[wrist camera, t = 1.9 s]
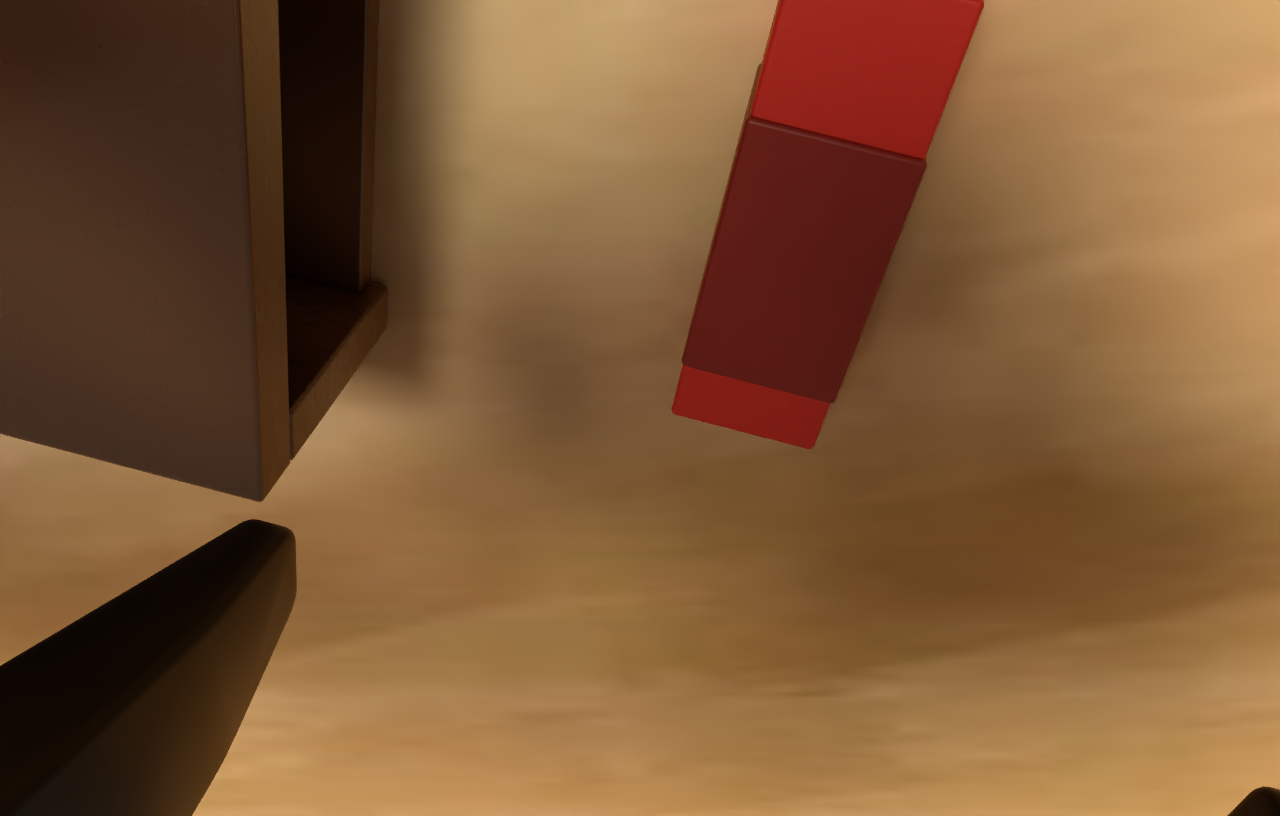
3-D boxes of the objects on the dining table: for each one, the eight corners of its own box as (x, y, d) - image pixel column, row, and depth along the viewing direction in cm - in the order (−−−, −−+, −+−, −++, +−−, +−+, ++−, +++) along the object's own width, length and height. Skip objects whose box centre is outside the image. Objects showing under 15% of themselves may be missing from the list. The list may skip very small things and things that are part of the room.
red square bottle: (819, 372, 21) (815, 456, 19) (686, 337, 22) (666, 417, 19) (1016, -167, 15) (1046, -139, 13) (831, -212, 15) (827, -193, 13)
